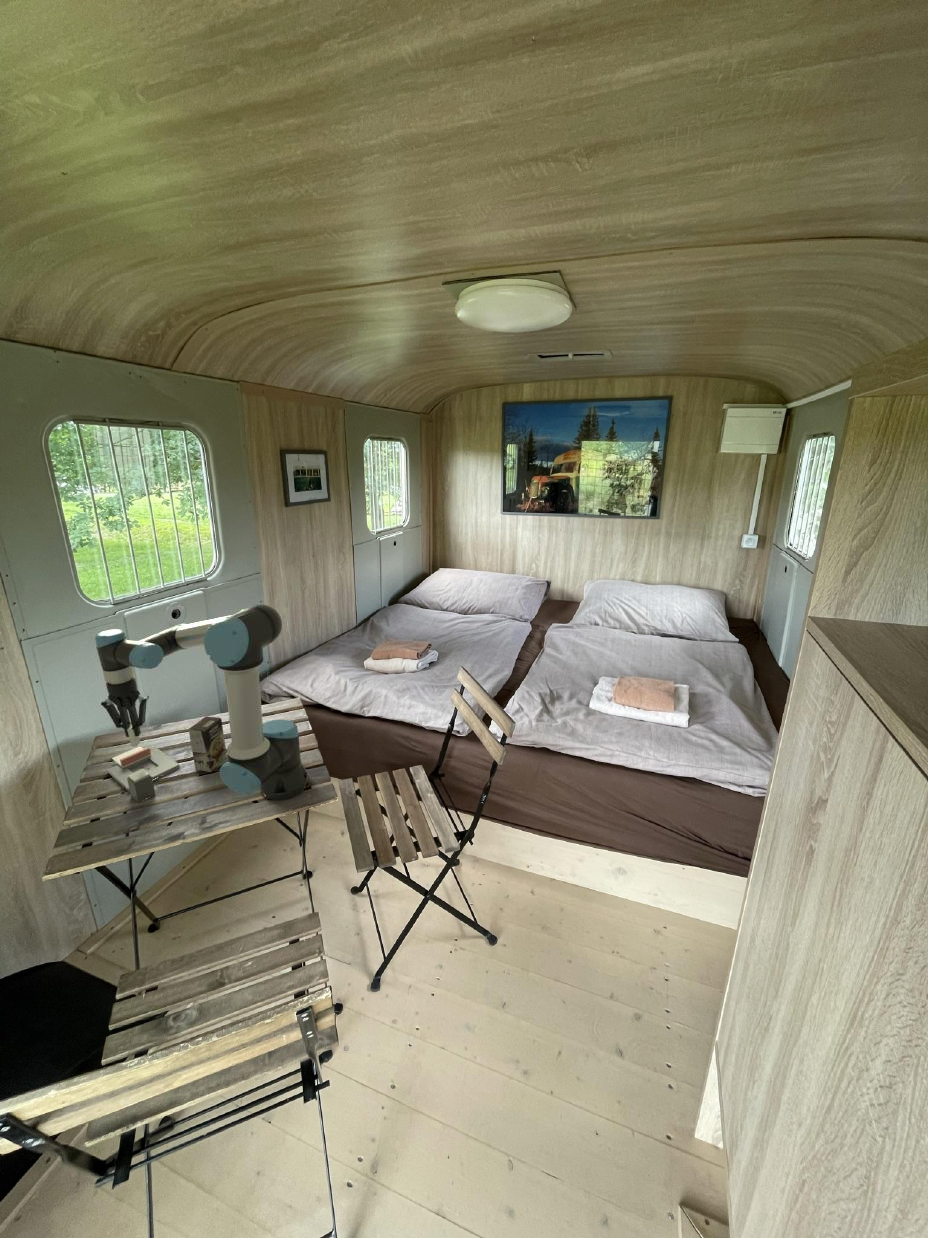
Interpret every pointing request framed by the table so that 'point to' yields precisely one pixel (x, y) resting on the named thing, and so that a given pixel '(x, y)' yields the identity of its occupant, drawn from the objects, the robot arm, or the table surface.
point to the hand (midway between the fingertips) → (135, 744)
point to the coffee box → (207, 743)
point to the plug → (140, 785)
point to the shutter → (132, 756)
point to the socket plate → (145, 767)
